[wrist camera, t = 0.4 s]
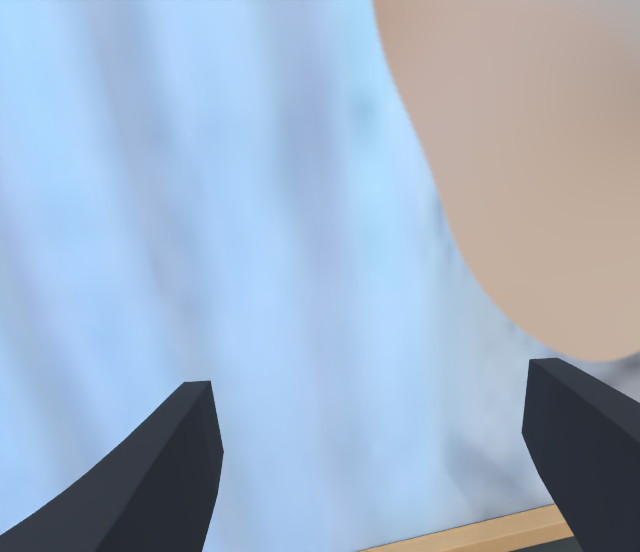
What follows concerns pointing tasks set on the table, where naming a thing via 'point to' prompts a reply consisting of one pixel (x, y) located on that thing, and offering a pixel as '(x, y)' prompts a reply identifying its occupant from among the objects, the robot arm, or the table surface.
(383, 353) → the table surface
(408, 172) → the table surface
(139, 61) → the table surface
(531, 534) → the slate board
